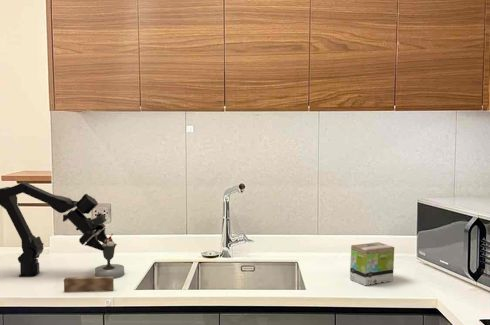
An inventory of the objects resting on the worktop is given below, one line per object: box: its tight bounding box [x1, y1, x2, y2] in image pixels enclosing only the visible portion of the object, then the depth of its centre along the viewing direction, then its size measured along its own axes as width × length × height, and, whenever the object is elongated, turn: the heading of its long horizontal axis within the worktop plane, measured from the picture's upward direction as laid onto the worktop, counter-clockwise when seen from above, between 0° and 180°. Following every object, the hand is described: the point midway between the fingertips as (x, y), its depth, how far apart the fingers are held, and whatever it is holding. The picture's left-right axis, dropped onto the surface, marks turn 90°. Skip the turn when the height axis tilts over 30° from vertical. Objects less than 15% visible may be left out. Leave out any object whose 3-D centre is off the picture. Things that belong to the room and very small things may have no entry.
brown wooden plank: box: [63, 276, 115, 293], centre depth 182 cm, size 18×2×5 cm, turn 95°
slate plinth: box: [94, 263, 125, 280], centre depth 202 cm, size 12×12×3 cm
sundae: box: [101, 233, 118, 270], centre depth 202 cm, size 7×7×15 cm
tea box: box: [349, 241, 395, 286], centre depth 196 cm, size 15×10×15 cm, turn 117°
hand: (106, 247), depth 202 cm, fingers open, 9 cm apart
